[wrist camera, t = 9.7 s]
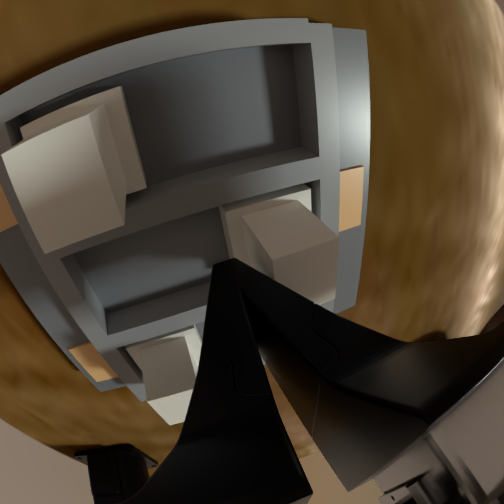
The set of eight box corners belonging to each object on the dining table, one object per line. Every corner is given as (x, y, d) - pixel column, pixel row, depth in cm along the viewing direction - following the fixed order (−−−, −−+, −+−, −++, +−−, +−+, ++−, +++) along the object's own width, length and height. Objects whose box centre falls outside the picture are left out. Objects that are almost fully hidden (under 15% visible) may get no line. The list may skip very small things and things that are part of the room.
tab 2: (206, 351, 14) (226, 411, 11) (149, 368, 14) (161, 430, 11) (189, 310, 12) (210, 378, 10) (124, 331, 12) (131, 401, 9)
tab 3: (300, 245, 13) (346, 299, 10) (231, 267, 12) (264, 332, 9) (297, 178, 11) (354, 223, 8) (217, 199, 10) (252, 256, 7)
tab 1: (145, 176, 9) (151, 229, 6) (61, 207, 8) (34, 271, 6) (122, 85, 7) (110, 89, 4) (31, 121, 6) (-21, 151, 4)
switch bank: (341, 290, 18) (366, 320, 16) (101, 371, 15) (103, 411, 13) (342, 28, 9) (387, 25, 7) (-35, 128, 6) (-73, 147, 4)
